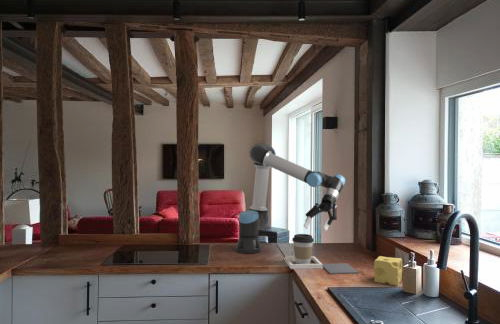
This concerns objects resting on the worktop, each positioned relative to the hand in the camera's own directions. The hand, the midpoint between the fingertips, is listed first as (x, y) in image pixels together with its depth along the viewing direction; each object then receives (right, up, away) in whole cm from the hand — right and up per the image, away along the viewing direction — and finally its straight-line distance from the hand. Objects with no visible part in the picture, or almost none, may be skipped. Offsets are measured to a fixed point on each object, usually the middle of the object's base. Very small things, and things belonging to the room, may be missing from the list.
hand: (314, 228), depth 202 cm
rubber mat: (+9, -18, -16) cm, 25 cm away
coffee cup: (-7, -18, -7) cm, 20 cm away
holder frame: (-7, -18, -7) cm, 20 cm away
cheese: (+27, -18, -34) cm, 47 cm away
